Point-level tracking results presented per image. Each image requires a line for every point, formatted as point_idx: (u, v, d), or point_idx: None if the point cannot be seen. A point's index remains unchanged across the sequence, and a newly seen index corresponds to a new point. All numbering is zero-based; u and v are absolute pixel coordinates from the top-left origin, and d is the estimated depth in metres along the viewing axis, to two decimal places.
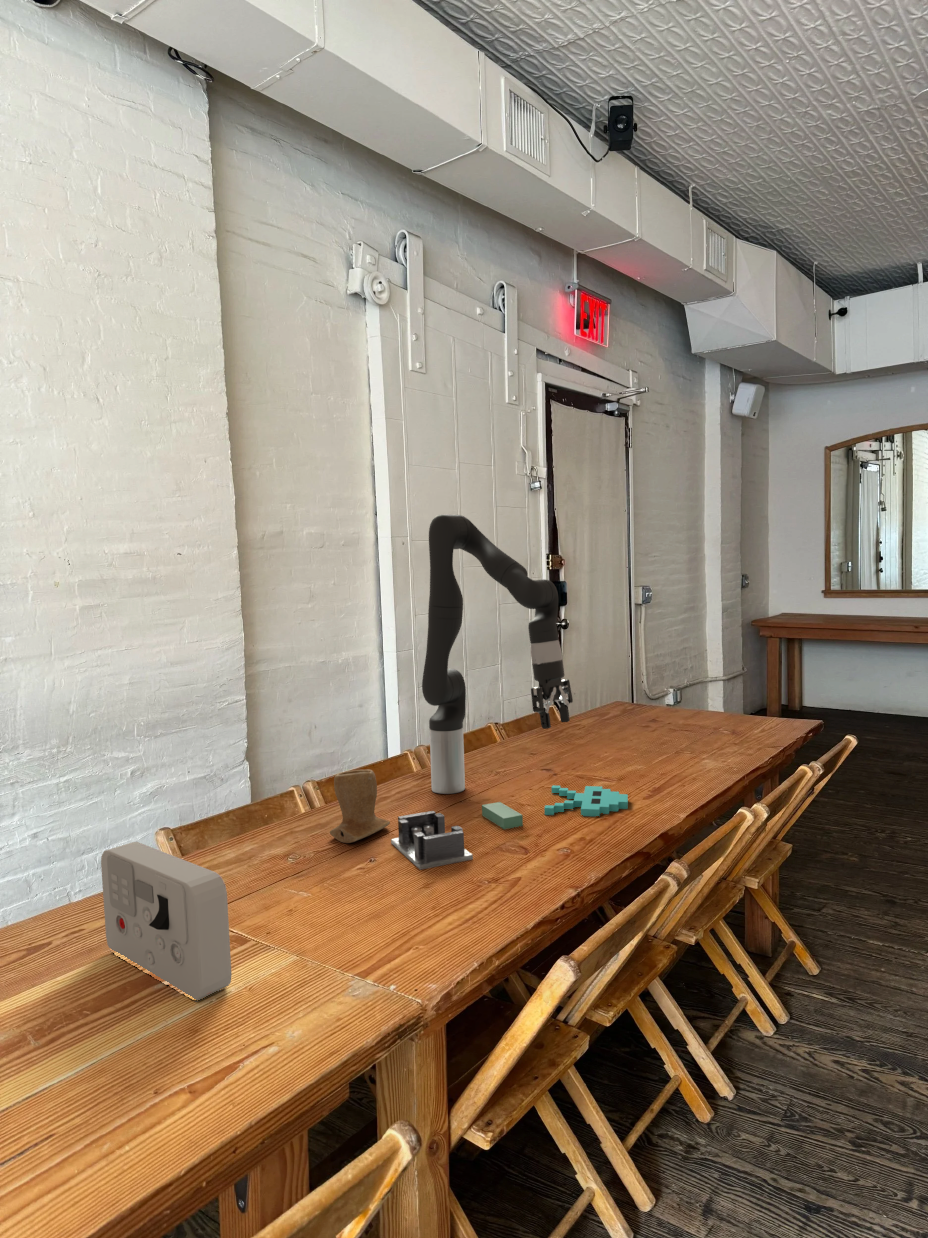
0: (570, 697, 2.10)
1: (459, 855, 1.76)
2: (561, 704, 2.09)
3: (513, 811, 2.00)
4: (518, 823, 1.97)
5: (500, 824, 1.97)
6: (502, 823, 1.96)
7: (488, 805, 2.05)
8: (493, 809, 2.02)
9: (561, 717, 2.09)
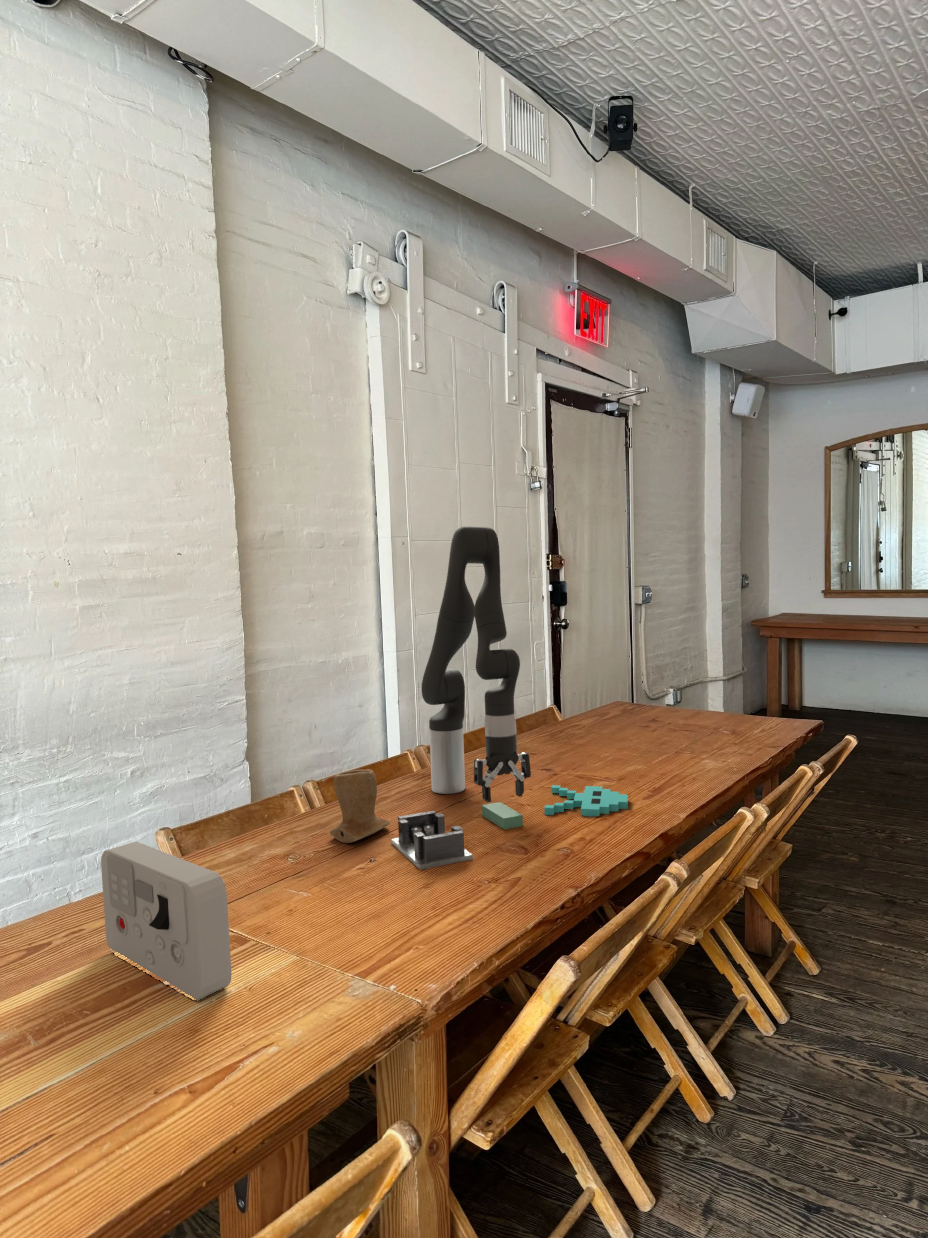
0: (527, 772, 2.02)
1: (459, 855, 1.76)
2: (517, 777, 2.03)
3: (513, 811, 2.00)
4: (518, 823, 1.97)
5: (500, 824, 1.97)
6: (502, 823, 1.96)
7: (488, 805, 2.05)
8: (493, 809, 2.02)
9: (516, 790, 2.03)
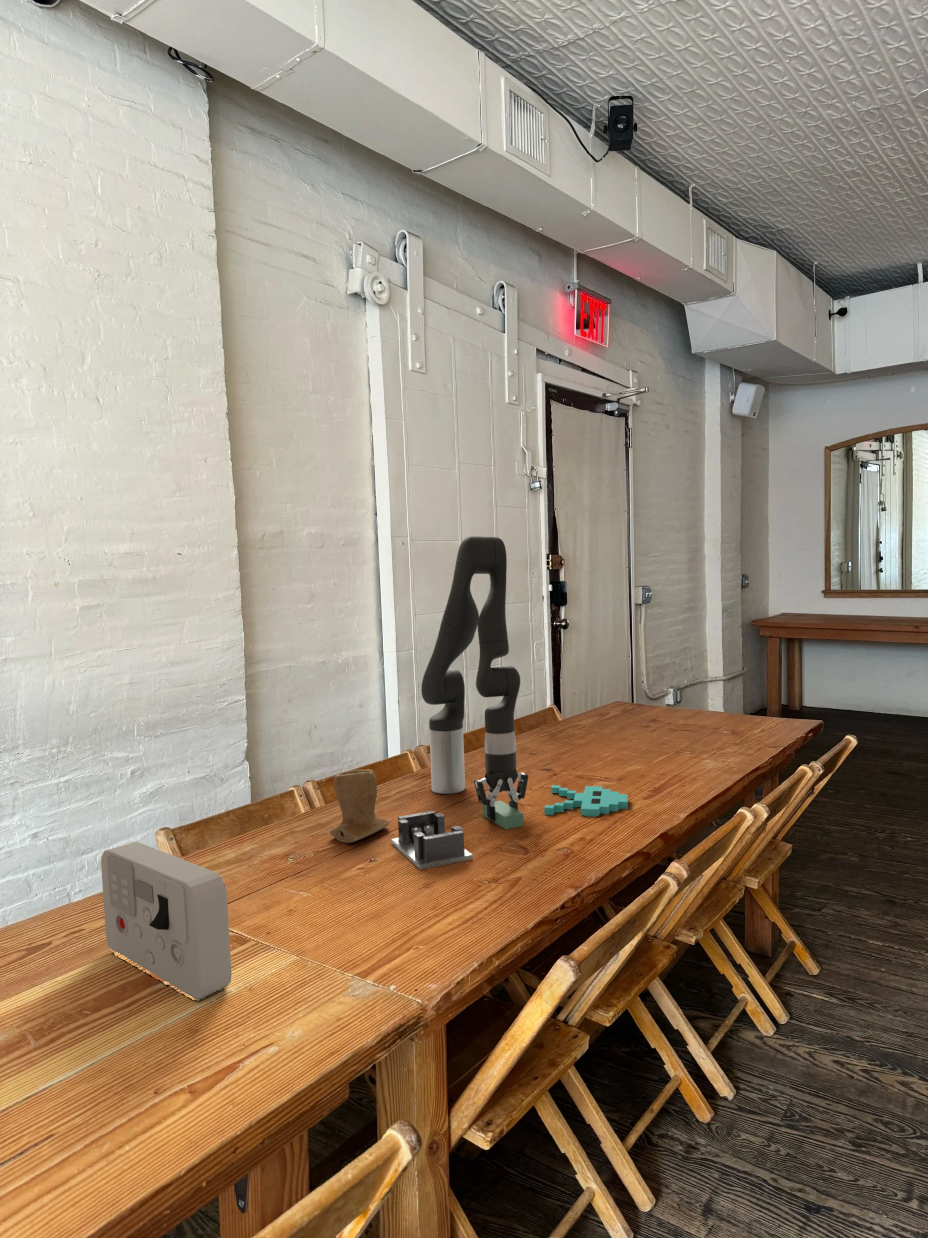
0: (521, 793, 2.02)
1: (459, 855, 1.76)
2: (511, 798, 2.03)
3: (514, 810, 2.00)
4: (519, 821, 1.97)
5: (501, 822, 1.97)
6: (503, 822, 1.96)
7: None
8: None
9: None
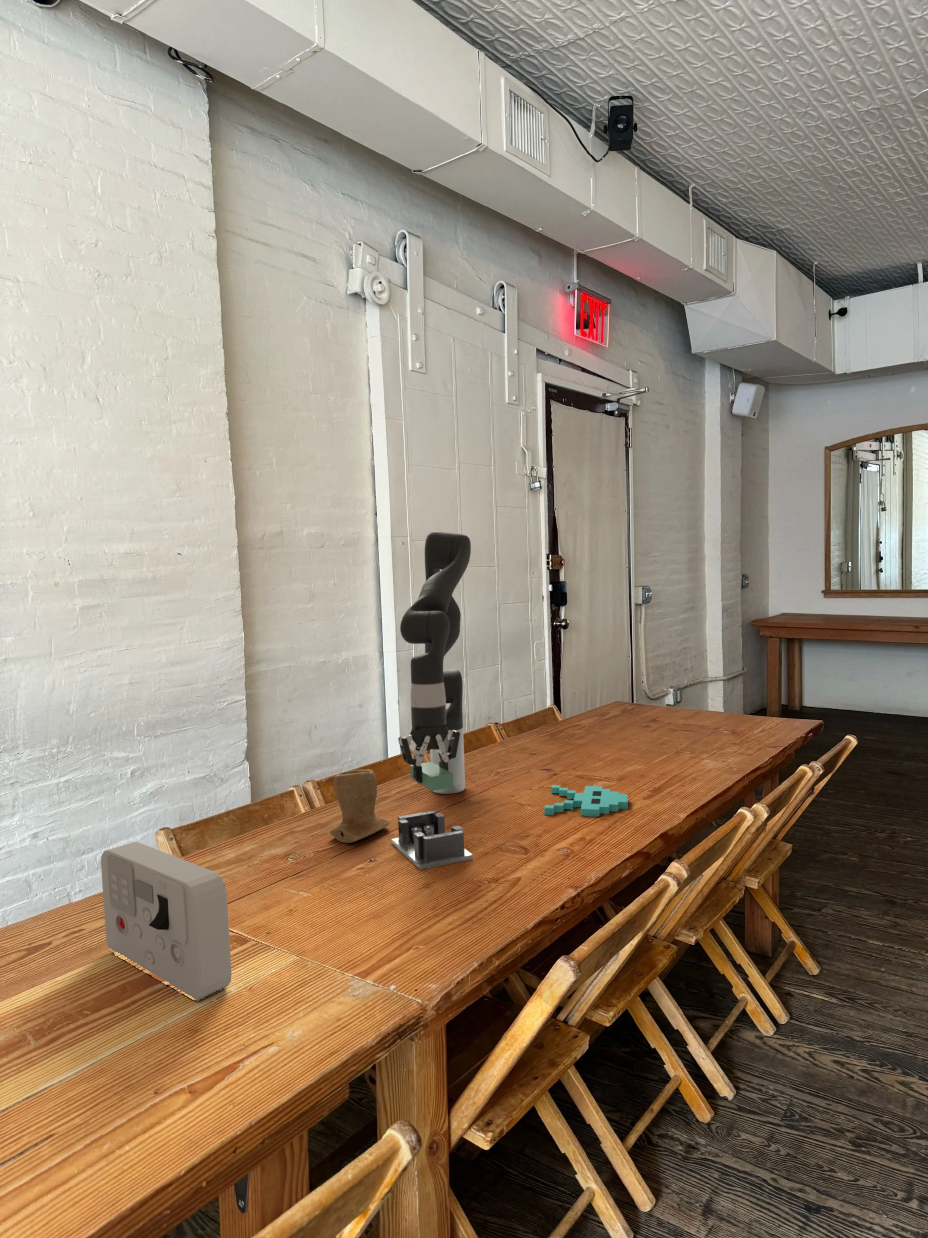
0: (452, 752, 1.82)
1: (459, 855, 1.76)
2: (441, 758, 1.82)
3: (443, 770, 1.80)
4: (448, 782, 1.76)
5: (428, 784, 1.76)
6: (430, 782, 1.75)
7: None
8: (422, 768, 1.82)
9: None
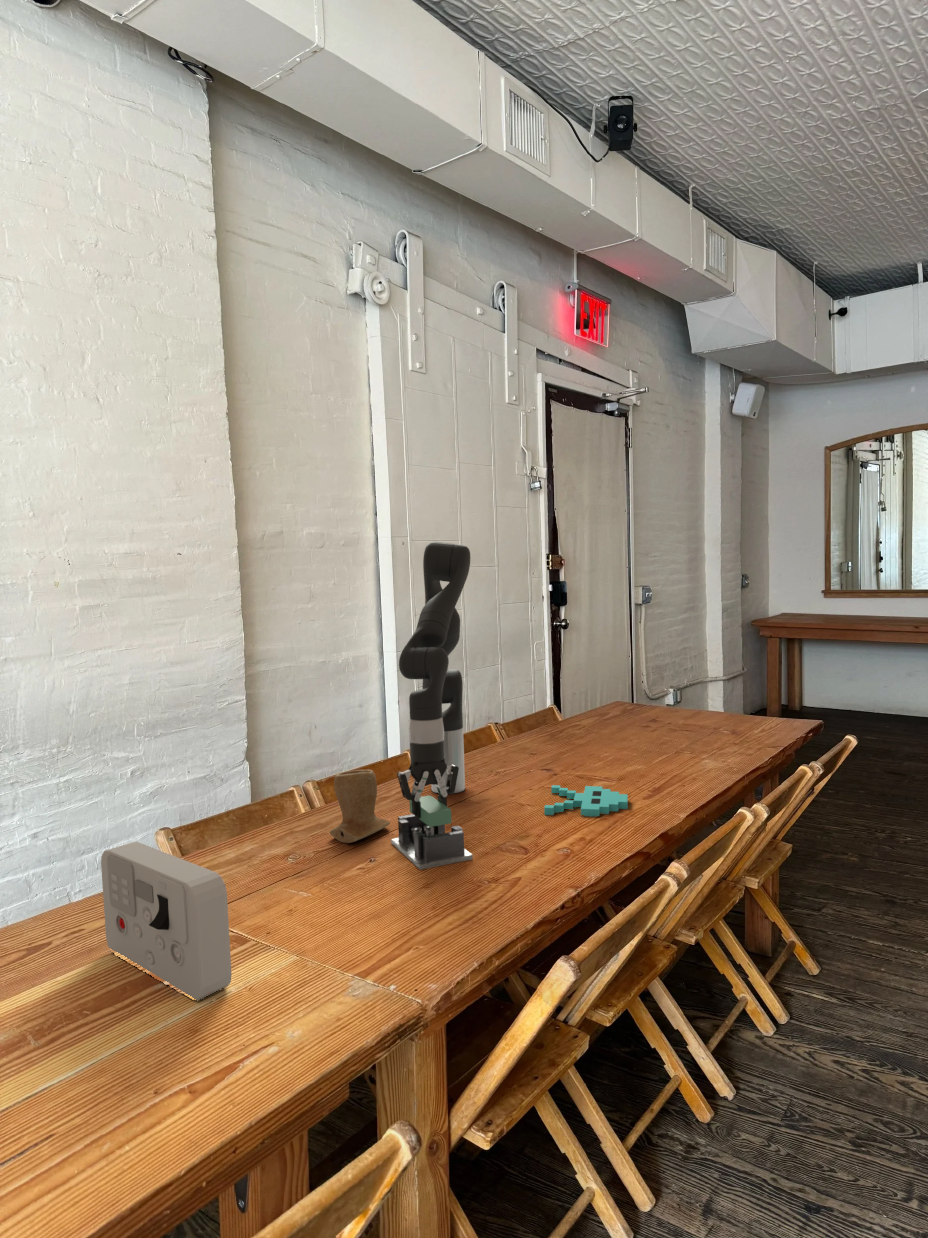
0: (451, 787, 1.82)
1: (459, 855, 1.76)
2: (439, 792, 1.83)
3: (442, 805, 1.80)
4: (446, 818, 1.77)
5: (426, 819, 1.77)
6: (428, 818, 1.76)
7: None
8: (421, 803, 1.82)
9: None
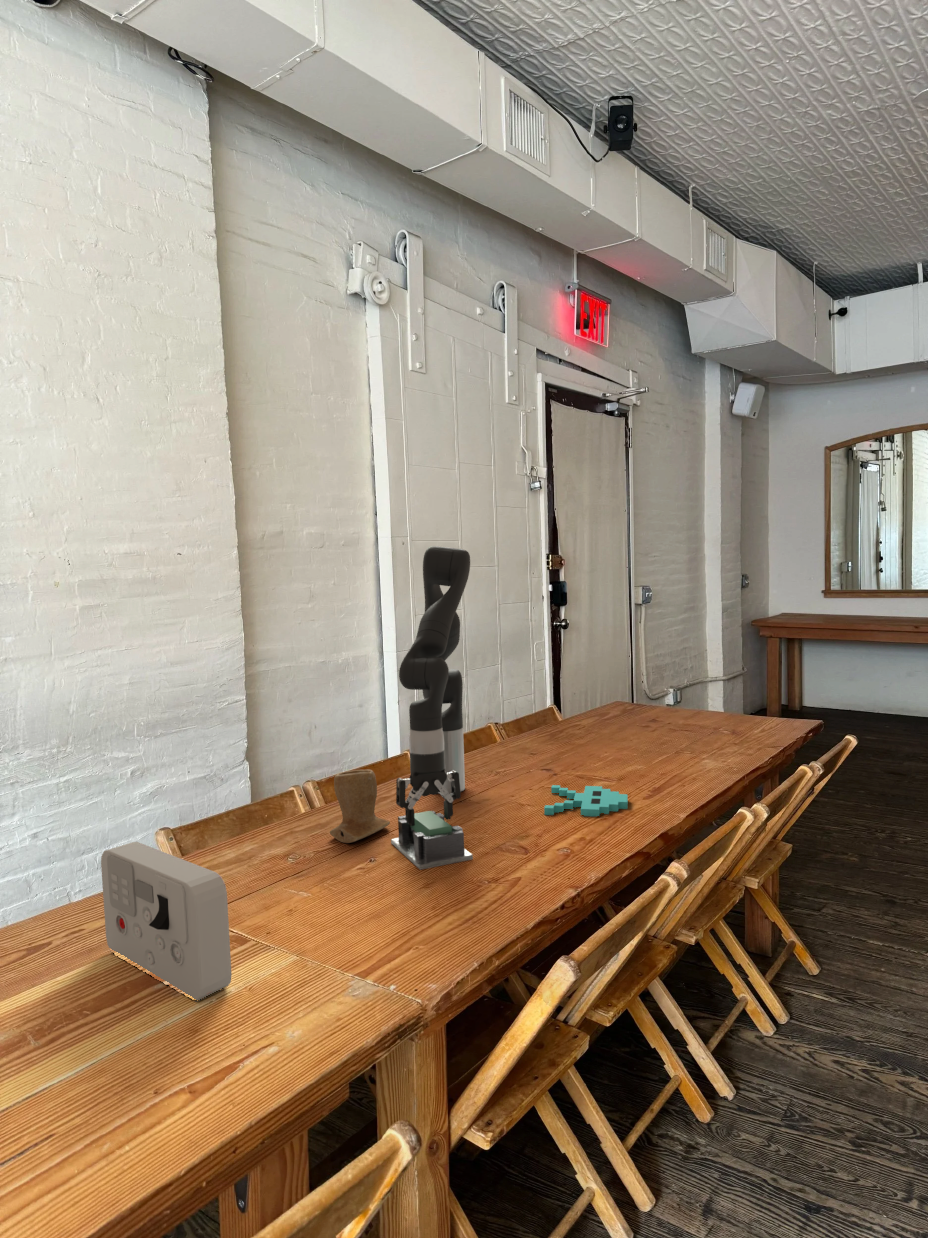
0: (457, 792, 1.83)
1: (459, 855, 1.76)
2: (445, 798, 1.84)
3: (442, 821, 1.80)
4: None
5: (426, 836, 1.77)
6: (429, 835, 1.76)
7: (416, 814, 1.86)
8: (421, 819, 1.83)
9: (444, 812, 1.84)
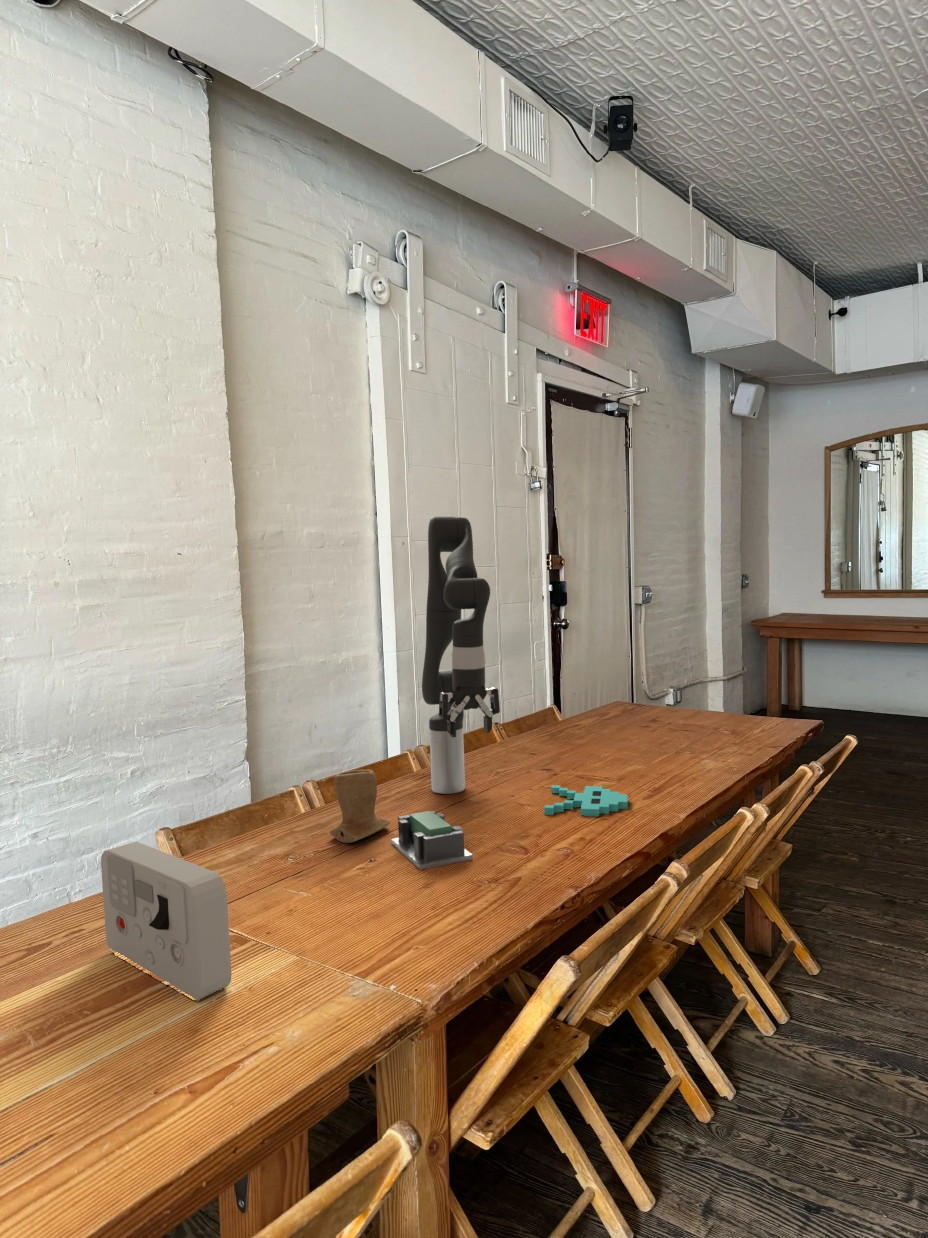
0: (496, 707, 1.93)
1: (459, 855, 1.76)
2: (485, 713, 1.94)
3: (442, 821, 1.80)
4: None
5: (426, 836, 1.77)
6: (429, 835, 1.76)
7: (416, 814, 1.86)
8: (421, 819, 1.83)
9: (484, 726, 1.95)
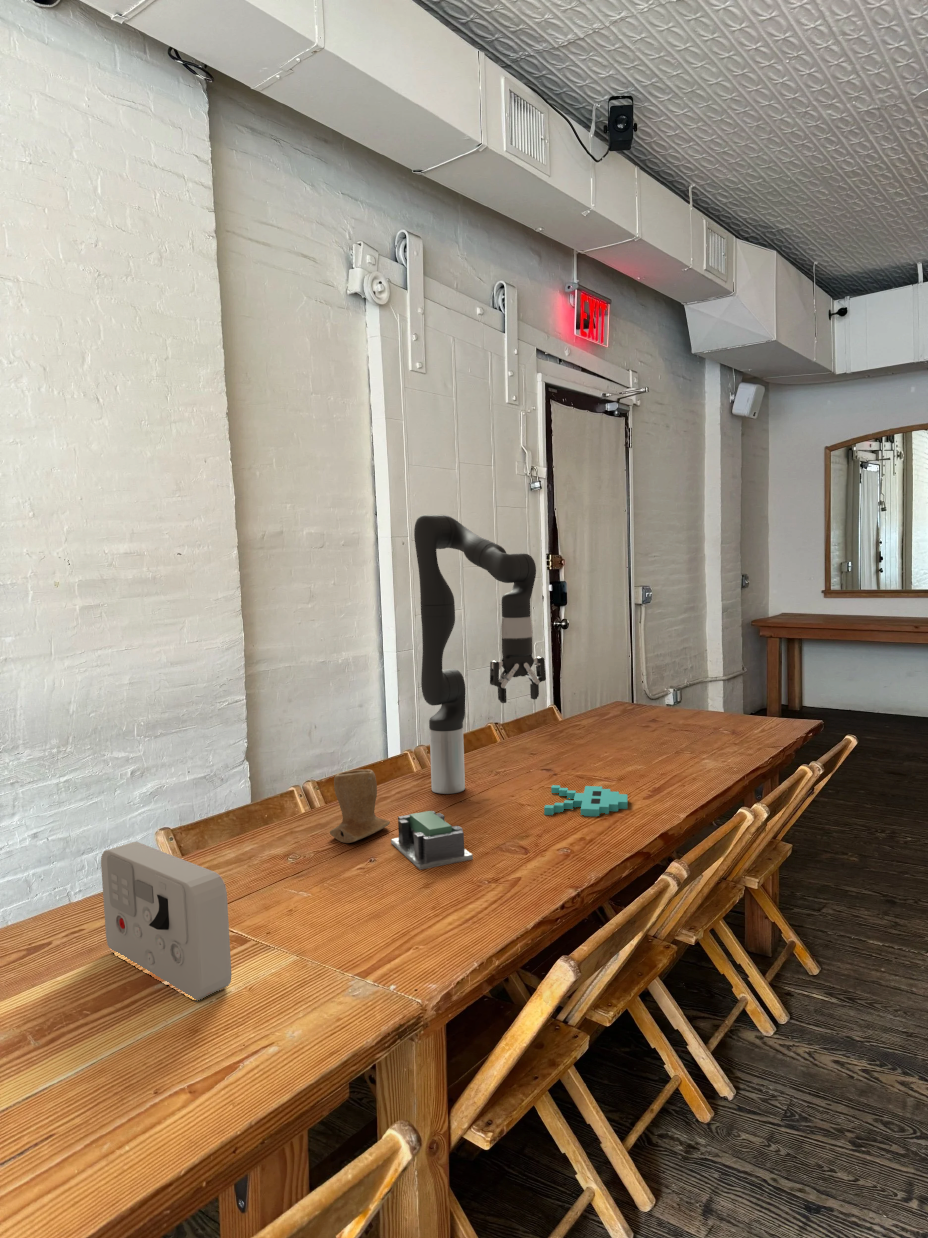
0: (542, 675, 2.06)
1: (459, 855, 1.76)
2: (532, 681, 2.07)
3: (442, 821, 1.80)
4: None
5: (426, 836, 1.77)
6: (429, 835, 1.76)
7: (416, 814, 1.86)
8: (421, 819, 1.83)
9: (531, 693, 2.07)
